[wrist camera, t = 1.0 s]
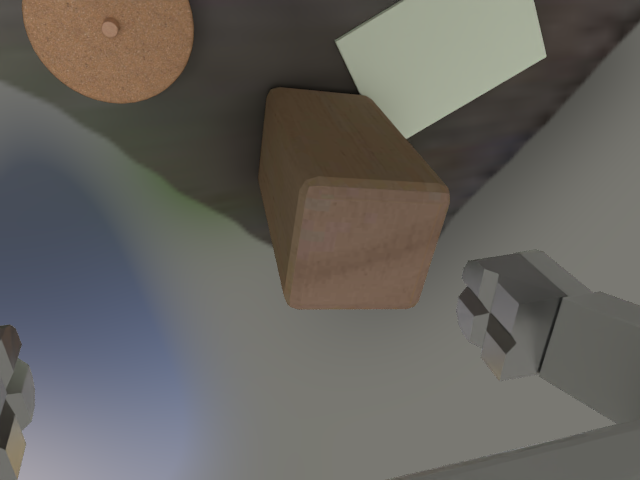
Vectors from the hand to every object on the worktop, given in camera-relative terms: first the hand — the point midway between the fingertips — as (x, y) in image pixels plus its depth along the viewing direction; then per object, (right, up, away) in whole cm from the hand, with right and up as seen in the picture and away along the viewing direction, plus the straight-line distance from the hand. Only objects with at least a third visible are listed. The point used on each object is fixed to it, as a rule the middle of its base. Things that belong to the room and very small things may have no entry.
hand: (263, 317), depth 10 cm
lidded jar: (-15, +20, +32) cm, 41 cm away
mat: (+13, +19, +40) cm, 46 cm away
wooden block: (0, +11, +42) cm, 43 cm away
